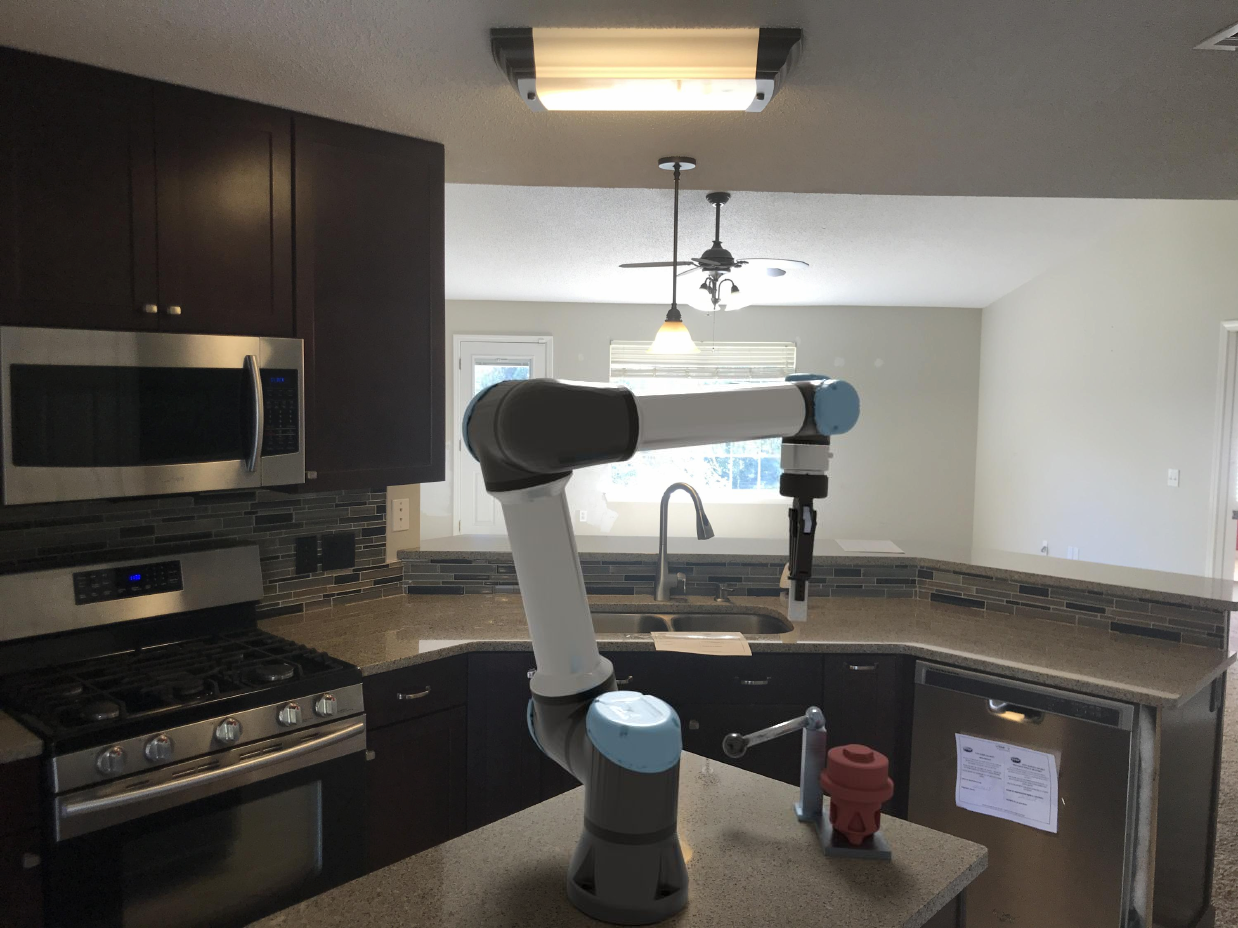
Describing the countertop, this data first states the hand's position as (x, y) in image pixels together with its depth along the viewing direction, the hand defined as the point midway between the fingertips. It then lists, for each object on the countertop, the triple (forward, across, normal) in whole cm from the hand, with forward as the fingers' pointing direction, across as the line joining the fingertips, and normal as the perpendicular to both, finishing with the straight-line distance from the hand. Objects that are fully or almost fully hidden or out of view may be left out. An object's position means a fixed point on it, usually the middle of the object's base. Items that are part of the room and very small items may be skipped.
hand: (797, 619), depth 134 cm
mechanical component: (+27, -15, -7) cm, 32 cm away
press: (+28, -12, -6) cm, 31 cm away
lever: (+18, -6, +3) cm, 19 cm away
